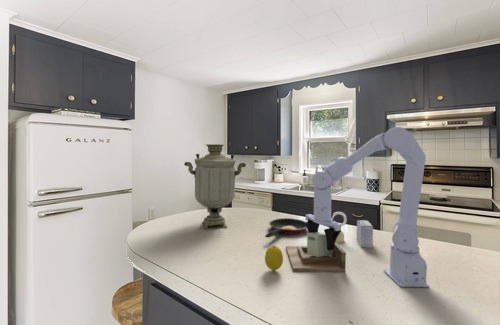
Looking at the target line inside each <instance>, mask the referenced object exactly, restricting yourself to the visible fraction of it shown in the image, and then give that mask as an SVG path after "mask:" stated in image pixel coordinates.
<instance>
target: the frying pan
mask: <svg viewBox="0 0 500 325" xmlns="http://www.w3.org/2000/svg"><path fill="white" fill-rule="evenodd" d="M305 222H307V220H304V219H300V218H299V219H298V218H292V217H291V218H290V217H282V218H274V219H271V220H269V222H268V225H269V226H270V227H271V228H272V229H273V230H272V231H269V232H267V233H266V234H265V236H264V237H265V238H271V237H273V236H275V235H276V234H277V233H279V234H283V235H298V234H299V235H300V234H302V233H303V232H305V231H306V230H308V229H307V227H306V226H305Z"/></svg>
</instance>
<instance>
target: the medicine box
mask: <svg viewBox="0 0 500 325" xmlns="http://www.w3.org/2000/svg"><path fill="white" fill-rule="evenodd" d="M356 241H357V242H358V244H359V246H360V247H361V248H369V249H372V248H373V246H374V243H373V242H374V226H373V225H372V223H370V222H369V220H365V219H364V220H363V219H362V220H360V219H358V220H356Z"/></svg>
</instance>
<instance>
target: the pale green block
mask: <svg viewBox="0 0 500 325" xmlns="http://www.w3.org/2000/svg"><path fill="white" fill-rule="evenodd" d="M306 240H307V242H306V246H307V254H309V255H313V256H316V257H322V256H329V255H333V250H327V240H326V234H325V231H318V232H314V233H309V232H307V233H306Z"/></svg>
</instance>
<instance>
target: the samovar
mask: <svg viewBox="0 0 500 325" xmlns="http://www.w3.org/2000/svg"><path fill="white" fill-rule="evenodd" d="M205 146H206V147H207V151H208V152H209V153H208V154H206V155H204V156H203V157H200V153H196V154H195V157H196V158H195V159H194V164H195V165H196V166H195V169H194V166H193V164H192V162H190V161H185V162H184V166H186V167H188V168H187V169H188V172H189V173H190V174H191V175H194V176H193V177H194V197H195V200H196V201H197V203H199V204H200V205H201V206H202V207H204V208H205V207H206V209H207V210H206V212H207V213H209V214H207V215H206V217H204V218H203V221H202V224H204V226H203V227H202V228H203V229H202V230H208V228H209V226H218V225H220V226H223V227H224V228H225V229H227V228H228V225H227V224H226V218H225V217H224V216H223V215H221V214H220V213H221V212H222V211H223V210H222V209H223V208H224V207H226V206H228V205H229V204H230V203H232V202H233V200H234V199H235V190H236V189H235V188H236V186H235V185H236V177H237V176H239V175H240V174H241V173H242V168H245V167H246V166H247V164H246V163H245V162H240V163H239V164H238V165H237V169H235V164H236V159H234V157H235V154H233V153H232V154H230V158H229V157H226V155H224V154H222V151H223V147H224V144H217V143H216V144H211V143H210V144H205Z"/></svg>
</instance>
